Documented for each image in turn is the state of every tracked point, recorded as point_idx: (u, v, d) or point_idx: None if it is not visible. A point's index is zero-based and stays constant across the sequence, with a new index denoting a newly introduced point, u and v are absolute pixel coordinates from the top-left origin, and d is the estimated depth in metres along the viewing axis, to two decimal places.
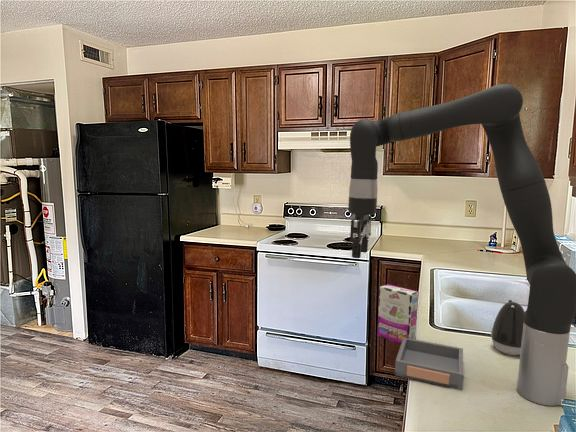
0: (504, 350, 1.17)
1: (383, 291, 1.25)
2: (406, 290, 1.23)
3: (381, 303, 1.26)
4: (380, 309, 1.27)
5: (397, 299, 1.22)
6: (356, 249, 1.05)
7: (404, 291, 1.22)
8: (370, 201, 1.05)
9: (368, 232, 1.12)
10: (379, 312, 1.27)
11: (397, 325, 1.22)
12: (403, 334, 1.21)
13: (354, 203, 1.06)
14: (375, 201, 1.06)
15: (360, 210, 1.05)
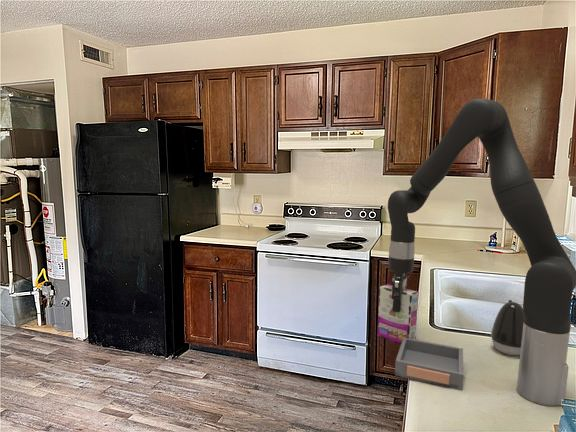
0: (504, 350, 1.17)
1: (383, 291, 1.25)
2: (406, 290, 1.23)
3: (381, 303, 1.26)
4: (380, 309, 1.27)
5: None
6: (397, 305, 1.20)
7: (404, 291, 1.22)
8: (409, 261, 1.20)
9: (405, 287, 1.26)
10: (379, 312, 1.27)
11: (397, 325, 1.22)
12: (403, 334, 1.21)
13: (394, 263, 1.20)
14: (413, 261, 1.21)
15: (399, 269, 1.20)
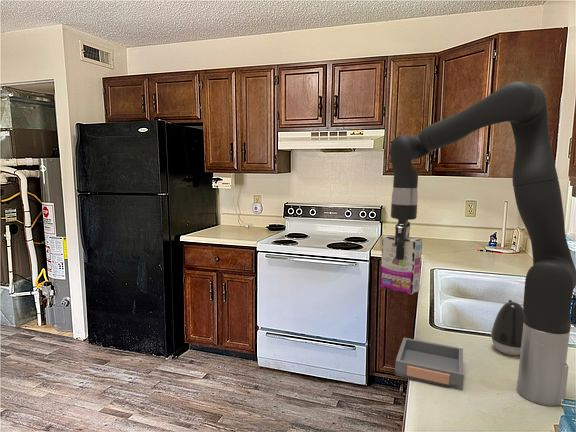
0: (504, 350, 1.17)
1: (386, 240, 1.23)
2: (409, 238, 1.21)
3: (384, 253, 1.24)
4: (383, 259, 1.25)
5: None
6: (400, 252, 1.18)
7: (407, 238, 1.20)
8: (412, 207, 1.18)
9: (408, 236, 1.24)
10: (382, 262, 1.25)
11: (401, 274, 1.20)
12: (406, 282, 1.19)
13: (397, 210, 1.19)
14: (416, 207, 1.19)
15: (402, 216, 1.18)
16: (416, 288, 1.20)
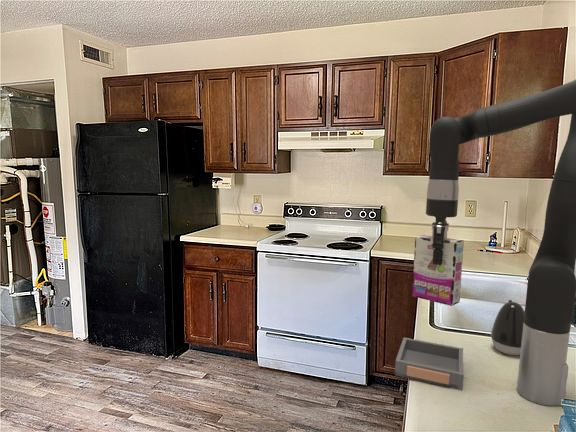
0: (504, 350, 1.17)
1: (420, 242, 1.05)
2: (448, 239, 1.02)
3: (418, 257, 1.06)
4: (416, 263, 1.06)
5: None
6: (438, 255, 1.00)
7: (446, 239, 1.01)
8: (452, 203, 0.99)
9: (445, 237, 1.05)
10: (415, 267, 1.07)
11: (438, 281, 1.02)
12: (445, 291, 1.01)
13: (435, 205, 1.00)
14: (457, 203, 1.01)
15: (441, 213, 0.99)
16: (457, 298, 1.02)
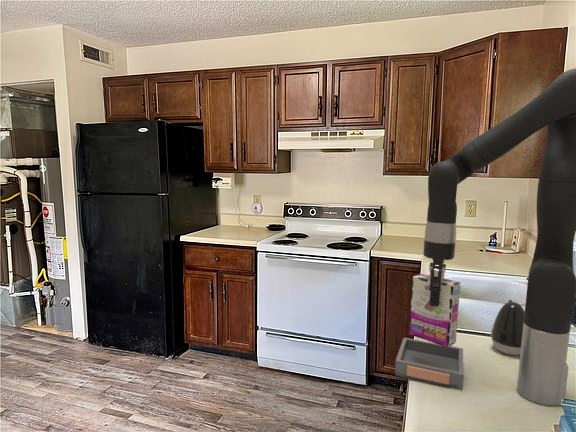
0: (504, 350, 1.17)
1: (418, 282, 1.06)
2: (445, 280, 1.04)
3: (415, 296, 1.07)
4: (413, 303, 1.08)
5: None
6: (435, 297, 1.01)
7: (443, 281, 1.02)
8: (450, 246, 1.00)
9: None
10: (412, 306, 1.08)
11: (435, 322, 1.03)
12: (442, 332, 1.02)
13: (432, 248, 1.01)
14: (454, 245, 1.02)
15: (439, 256, 1.01)
16: (453, 339, 1.03)
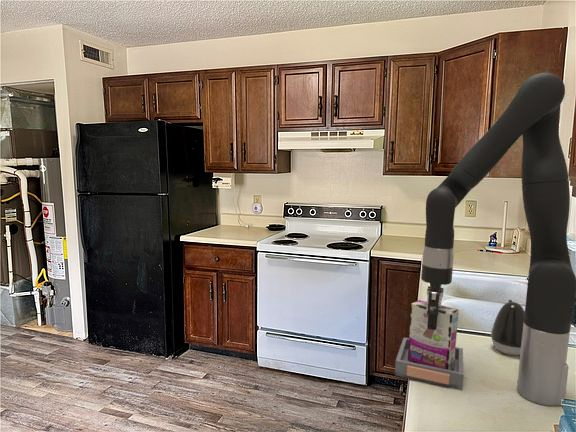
0: (504, 350, 1.17)
1: (416, 309, 1.07)
2: (444, 308, 1.05)
3: (413, 323, 1.08)
4: (412, 329, 1.08)
5: None
6: (433, 321, 1.01)
7: (442, 309, 1.04)
8: (447, 271, 1.01)
9: (440, 299, 1.08)
10: (410, 333, 1.09)
11: (434, 349, 1.04)
12: (441, 360, 1.03)
13: (430, 273, 1.02)
14: (451, 270, 1.03)
15: (436, 281, 1.01)
16: (452, 366, 1.04)
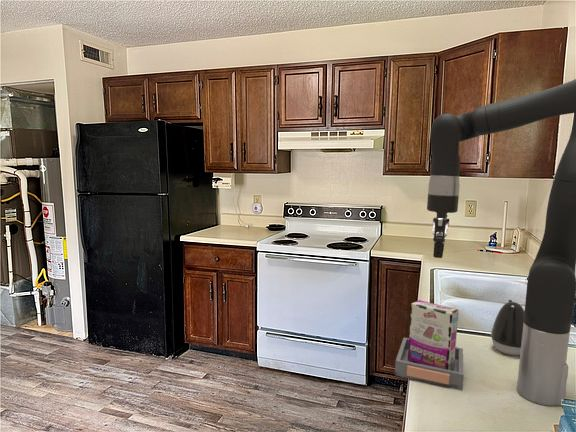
0: (504, 350, 1.17)
1: (416, 309, 1.07)
2: (444, 308, 1.05)
3: (413, 323, 1.08)
4: (412, 329, 1.08)
5: (433, 318, 1.04)
6: (439, 248, 1.01)
7: (442, 309, 1.04)
8: (453, 198, 1.01)
9: (446, 231, 1.08)
10: (410, 333, 1.09)
11: (434, 349, 1.04)
12: (441, 360, 1.03)
13: (436, 201, 1.02)
14: (457, 199, 1.02)
15: (442, 208, 1.01)
16: (452, 366, 1.04)
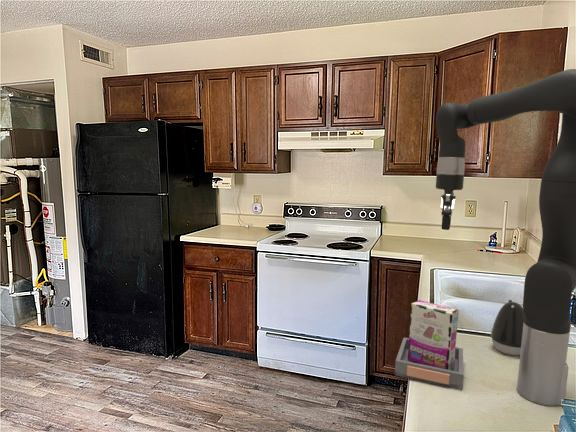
0: (504, 350, 1.17)
1: (416, 309, 1.07)
2: (444, 308, 1.05)
3: (413, 323, 1.08)
4: (412, 329, 1.08)
5: (433, 318, 1.04)
6: (446, 221, 1.15)
7: (442, 309, 1.04)
8: (459, 177, 1.15)
9: None
10: (410, 333, 1.09)
11: (434, 349, 1.04)
12: (441, 360, 1.03)
13: (444, 179, 1.15)
14: (463, 177, 1.16)
15: (449, 186, 1.15)
16: (452, 366, 1.04)
